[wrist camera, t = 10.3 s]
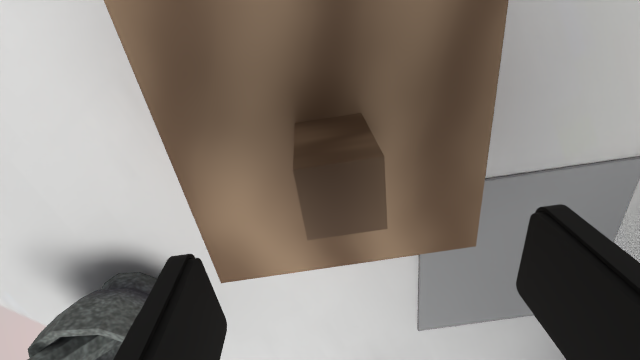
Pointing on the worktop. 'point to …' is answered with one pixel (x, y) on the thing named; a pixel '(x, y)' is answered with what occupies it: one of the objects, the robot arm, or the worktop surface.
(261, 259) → the walnut lid
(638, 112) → the worktop surface
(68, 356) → the mortar and pestle
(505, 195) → the rubber mat
